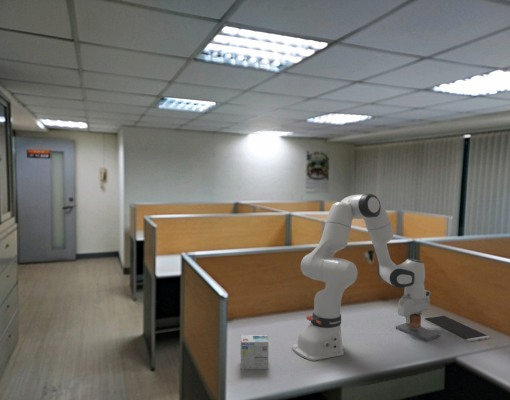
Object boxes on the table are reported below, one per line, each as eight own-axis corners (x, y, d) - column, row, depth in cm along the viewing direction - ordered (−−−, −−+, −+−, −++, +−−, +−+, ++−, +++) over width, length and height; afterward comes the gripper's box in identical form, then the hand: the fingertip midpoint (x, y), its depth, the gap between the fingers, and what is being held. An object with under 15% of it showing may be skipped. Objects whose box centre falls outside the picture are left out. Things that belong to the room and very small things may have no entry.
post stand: (426, 341, 158) (427, 325, 158) (395, 328, 172) (396, 314, 171) (439, 336, 164) (439, 320, 163) (408, 324, 177) (408, 310, 177)
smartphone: (467, 343, 158) (468, 339, 158) (422, 320, 184) (422, 317, 184) (490, 340, 162) (490, 336, 162) (443, 318, 188) (443, 314, 188)
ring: (415, 328, 165) (415, 318, 165) (403, 324, 170) (404, 314, 170) (422, 325, 168) (423, 315, 168) (411, 321, 173) (411, 311, 173)
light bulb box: (267, 360, 140) (267, 334, 139) (268, 369, 133) (269, 341, 132) (240, 361, 139) (240, 334, 139) (240, 370, 133) (240, 341, 132)
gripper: (406, 298, 160) (405, 328, 161) (432, 291, 171) (431, 319, 172) (394, 294, 166) (393, 323, 166) (420, 288, 177) (419, 315, 177)
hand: (413, 321), depth 169 cm, fingers closed on ring, 6 cm apart
